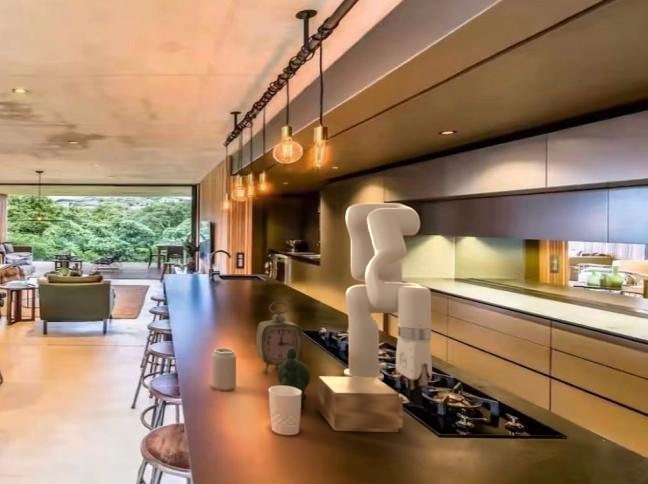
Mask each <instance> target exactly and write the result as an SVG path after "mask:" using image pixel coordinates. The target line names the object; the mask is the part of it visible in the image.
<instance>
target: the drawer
mask: <svg viewBox="0 0 648 484" xmlns="http://www.w3.org/2000/svg"><path fill="white" fill-rule="evenodd" d="M398 394H399V429H401V428H402V429H403V425H404V424H403V419H404V417H403V415H404V414H403V412H404V411H403V409H404V407H403V406H405V405H406V406H408V407H409V408H412V407H413V406H414V405H413V402H412V401H410V400H409V399H408V398H407V396H405V395H403V394H402V393H398Z"/></svg>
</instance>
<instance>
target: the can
mask: <svg viewBox="0 0 648 484" xmlns="http://www.w3.org/2000/svg"><path fill="white" fill-rule="evenodd" d="M211 357H212V358H211V359H212V362H211V363H212V365H211V367H212V368H211V369H212V372H211V373H212V375H211V376H212V377H211V378H212V379H211V381H212V382H211V383H212V386H213V387H214V389H216V390H218V391H226V392H227V391H232V390H234V389H235V388H236V387H237V355H236V354H235V351H234V350H233V349H231V348H216V349H214V352H213V353H212V355H211Z"/></svg>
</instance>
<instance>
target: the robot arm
mask: <svg viewBox="0 0 648 484" xmlns="http://www.w3.org/2000/svg"><path fill="white" fill-rule="evenodd" d="M346 209H347V210H346V213H345V224H346V229H347V231H348V234H349V238H350V274H351V277H352V278H353V279H354V280H356V281H359V282H364V284H355V285H351V286H350V287H348V288H347V289H346V292H345V302H346V308H347V309H346V310H347V318H348V319H347V320H348V368H346V369H344V370H343V375H344V377H376V378H377V379H379V380H380V381H383V380H384V379H385V376H384V374H383V373H382V372H381V370H386V369H387V368H388V365H387V363H385V362H382V363H380V328H379V324H378V322H377V321H376V320H375V318H374V317H373V316H372V314H395V313H397V342H396V350H395V370H396V372H398V374H400V375H402V376H403V377H404V381H405V386H406V398H408V399H409V400H410V401H412V402H413V406H414V405H417V406H419V405H420V406H421V405H423V390H424V387H425V388H426V387H428V386H429V385H428V381H430V380H432V377H433V376H432V375H433V362H432V361H433V360H432V350H431V341H432V292H431V290H430V289H429V288H428V287H426V286H422V285H421V284H419V283H416V282H403V267H402V262H401V259H403V258H404V257H405V256H406V255H407V252H408V251H407V246H406V243H405V240H404V236H415V235H416V234H417V233H418V232H419V230H420V228H421V220H420V216H419V214H418V213H417V211H415V209H413V208H412V207H410V206H407V205H404V204H402V203H398V202H397V203H396V202H384V203H383V202H381V203H379V202H365V203H354V204H352V205H350V206H349V207H348V208H346Z"/></svg>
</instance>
